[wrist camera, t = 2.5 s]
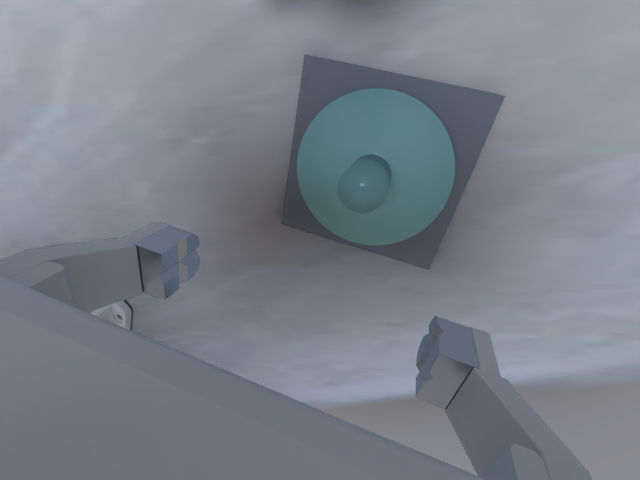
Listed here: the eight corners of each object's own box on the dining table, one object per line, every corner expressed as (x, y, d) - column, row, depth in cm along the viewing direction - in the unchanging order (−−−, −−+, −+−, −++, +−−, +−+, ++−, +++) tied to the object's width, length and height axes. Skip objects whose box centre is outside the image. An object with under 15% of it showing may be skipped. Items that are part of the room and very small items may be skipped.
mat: (428, 265, 27) (428, 269, 27) (284, 220, 30) (281, 223, 29) (501, 95, 21) (504, 96, 20) (308, 55, 23) (304, 54, 22)
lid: (421, 256, 26) (421, 290, 22) (293, 217, 29) (268, 241, 24) (482, 108, 21) (498, 114, 16) (314, 72, 23) (288, 69, 18)
